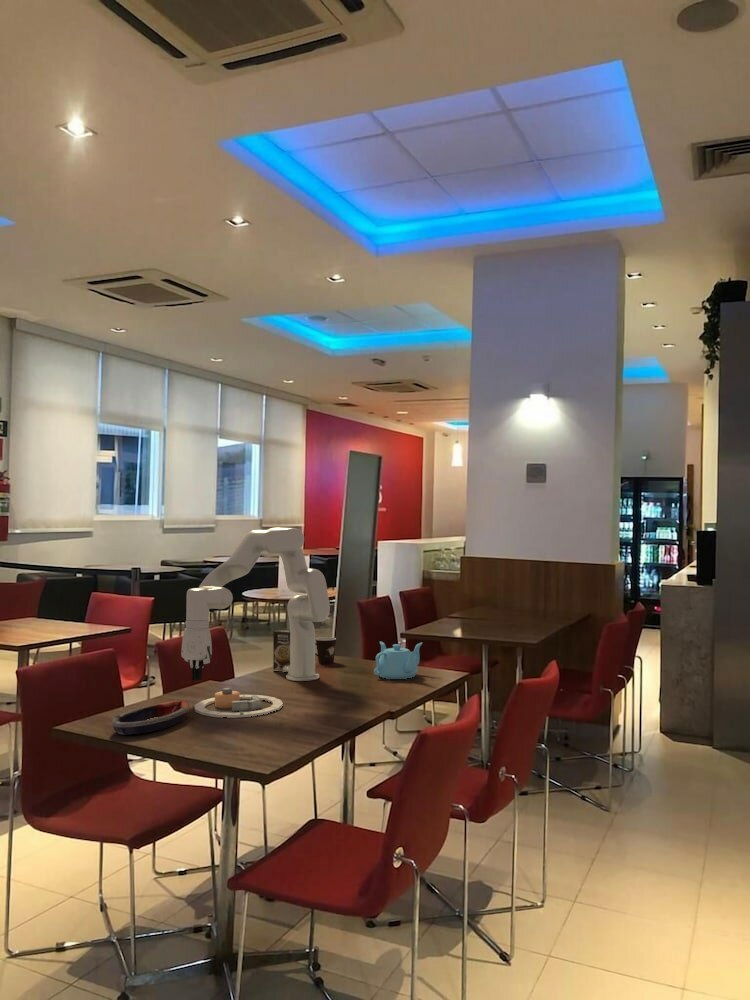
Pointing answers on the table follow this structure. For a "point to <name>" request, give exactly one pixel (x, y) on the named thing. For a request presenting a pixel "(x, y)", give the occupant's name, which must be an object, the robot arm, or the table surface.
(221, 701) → the orange pumpkin
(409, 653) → the teapot
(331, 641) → the coffee mug
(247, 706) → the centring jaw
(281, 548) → the robot arm
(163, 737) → the table surface
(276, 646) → the coffee box
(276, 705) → the turntable ring
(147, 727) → the dish
